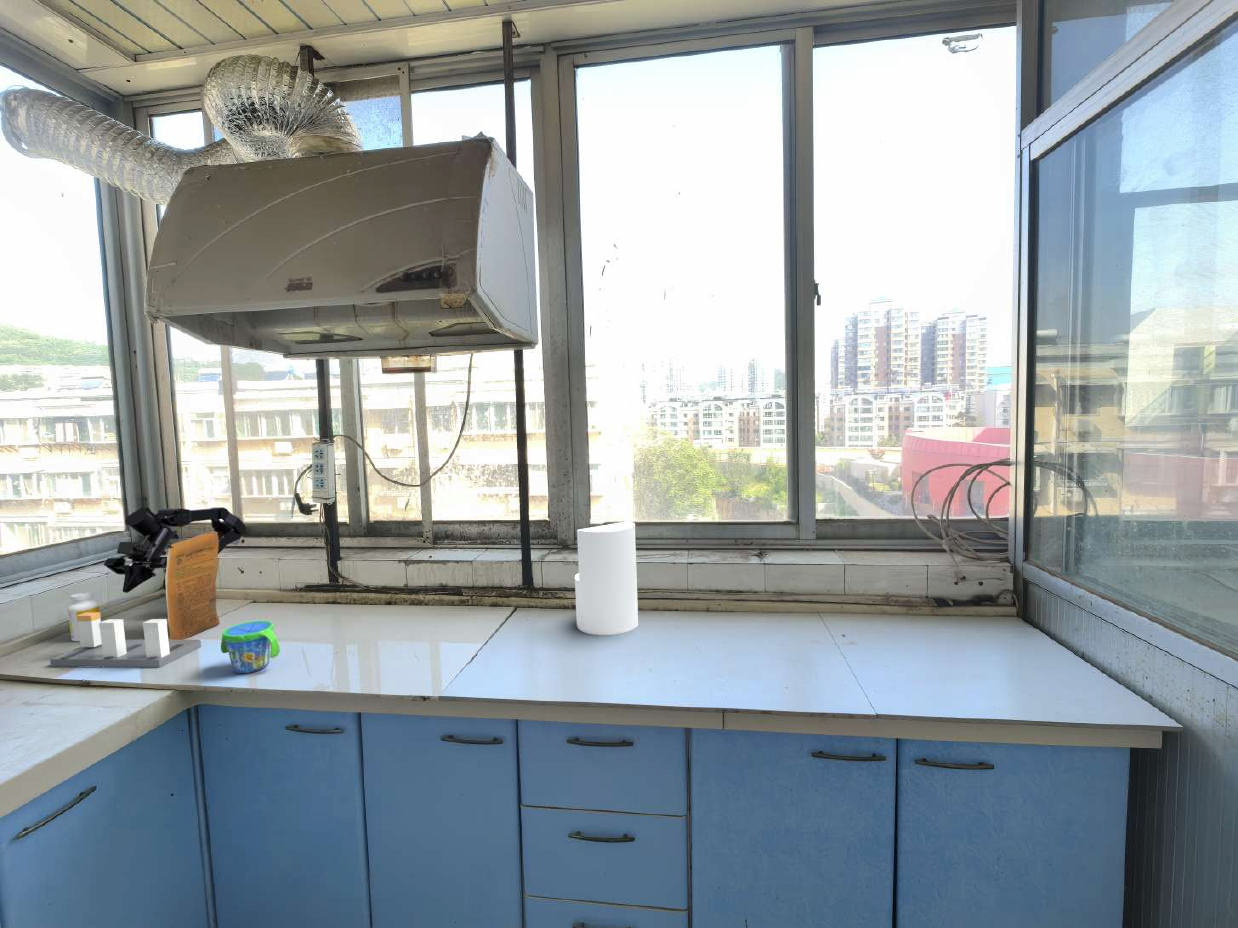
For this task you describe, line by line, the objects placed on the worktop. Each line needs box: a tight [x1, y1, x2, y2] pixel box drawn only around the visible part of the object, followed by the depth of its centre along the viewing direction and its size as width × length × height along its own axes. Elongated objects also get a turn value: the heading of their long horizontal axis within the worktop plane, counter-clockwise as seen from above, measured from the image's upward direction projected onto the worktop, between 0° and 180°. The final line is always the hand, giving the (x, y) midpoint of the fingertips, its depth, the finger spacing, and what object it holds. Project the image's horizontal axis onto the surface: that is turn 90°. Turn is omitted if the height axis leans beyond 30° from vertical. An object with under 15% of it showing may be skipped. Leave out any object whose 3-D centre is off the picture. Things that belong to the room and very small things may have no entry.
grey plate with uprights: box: [49, 618, 202, 669], centre depth 156 cm, size 13×30×11 cm, turn 85°
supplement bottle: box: [67, 591, 100, 642], centre depth 171 cm, size 7×7×13 cm
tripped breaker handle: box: [77, 611, 102, 647], centre depth 158 cm, size 3×4×8 cm, turn 84°
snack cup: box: [220, 620, 281, 674], centre depth 145 cm, size 16×10×10 cm
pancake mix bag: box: [164, 530, 220, 640], centre depth 172 cm, size 7×19×28 cm, turn 170°
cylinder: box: [574, 520, 639, 636], centre depth 166 cm, size 17×17×28 cm
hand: (124, 591), depth 168 cm, fingers closed
